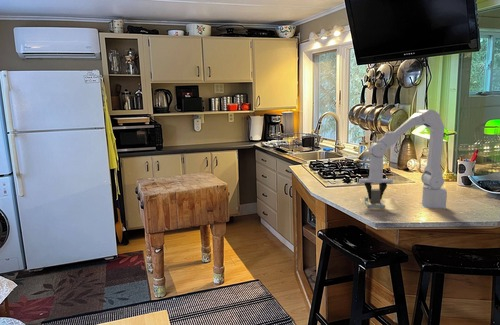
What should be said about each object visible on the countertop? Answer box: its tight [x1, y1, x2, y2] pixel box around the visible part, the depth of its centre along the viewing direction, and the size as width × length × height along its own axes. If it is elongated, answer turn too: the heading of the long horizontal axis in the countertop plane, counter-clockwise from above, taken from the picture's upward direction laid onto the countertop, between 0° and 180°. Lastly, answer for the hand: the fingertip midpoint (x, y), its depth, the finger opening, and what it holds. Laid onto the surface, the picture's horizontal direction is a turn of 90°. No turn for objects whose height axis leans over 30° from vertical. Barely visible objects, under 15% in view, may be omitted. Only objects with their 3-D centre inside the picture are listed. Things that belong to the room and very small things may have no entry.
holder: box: [365, 201, 385, 208], centre depth 168 cm, size 8×7×1 cm
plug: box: [369, 188, 381, 204], centre depth 172 cm, size 4×12×6 cm, turn 173°
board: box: [358, 197, 405, 211], centre depth 171 cm, size 16×18×1 cm
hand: (374, 199), depth 168 cm, fingers closed on plug, 4 cm apart
